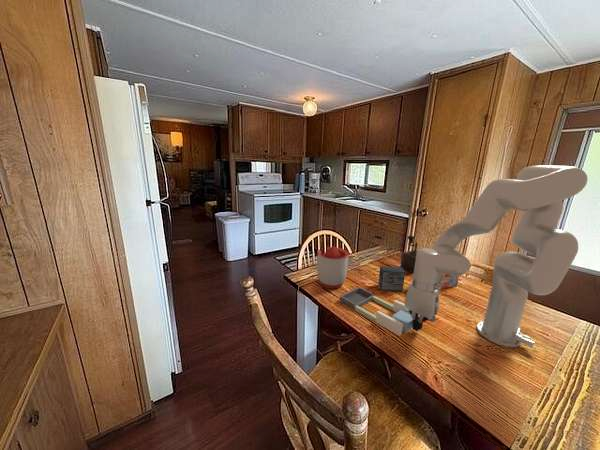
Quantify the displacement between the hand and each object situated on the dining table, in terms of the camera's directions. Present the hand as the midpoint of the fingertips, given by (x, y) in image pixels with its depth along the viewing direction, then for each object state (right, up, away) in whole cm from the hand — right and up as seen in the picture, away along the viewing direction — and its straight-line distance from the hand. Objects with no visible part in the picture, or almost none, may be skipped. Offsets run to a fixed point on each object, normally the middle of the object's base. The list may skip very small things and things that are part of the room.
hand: (416, 328), depth 89 cm
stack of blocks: (+27, +7, +35) cm, 44 cm away
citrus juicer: (-27, +8, +36) cm, 46 cm away
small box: (+2, +7, +32) cm, 32 cm away
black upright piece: (+23, +13, +56) cm, 62 cm away
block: (-3, 0, +4) cm, 5 cm away
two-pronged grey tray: (-11, +2, +13) cm, 17 cm away
